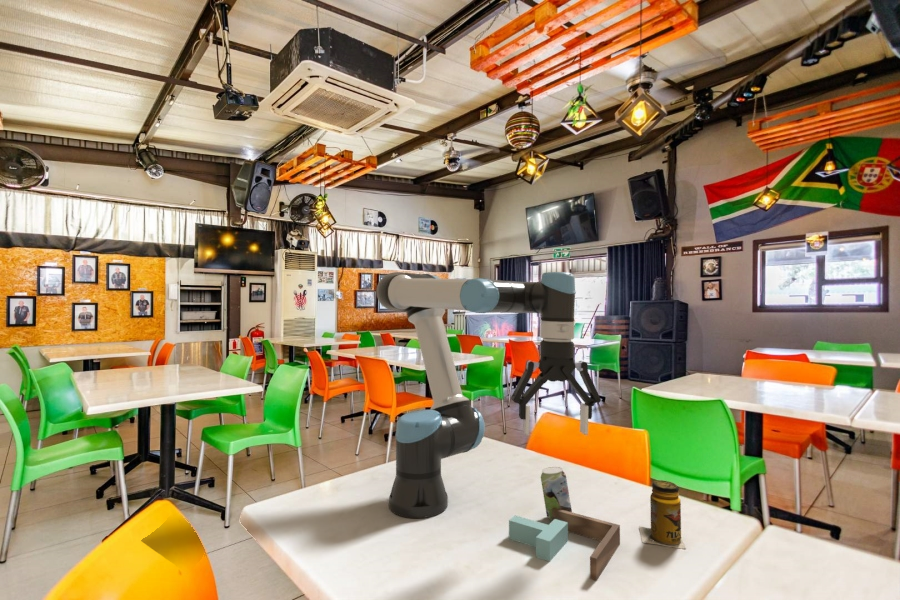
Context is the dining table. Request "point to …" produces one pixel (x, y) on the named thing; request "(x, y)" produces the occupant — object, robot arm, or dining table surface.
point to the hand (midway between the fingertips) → (555, 433)
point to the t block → (540, 535)
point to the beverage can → (555, 490)
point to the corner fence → (593, 537)
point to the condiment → (664, 516)
